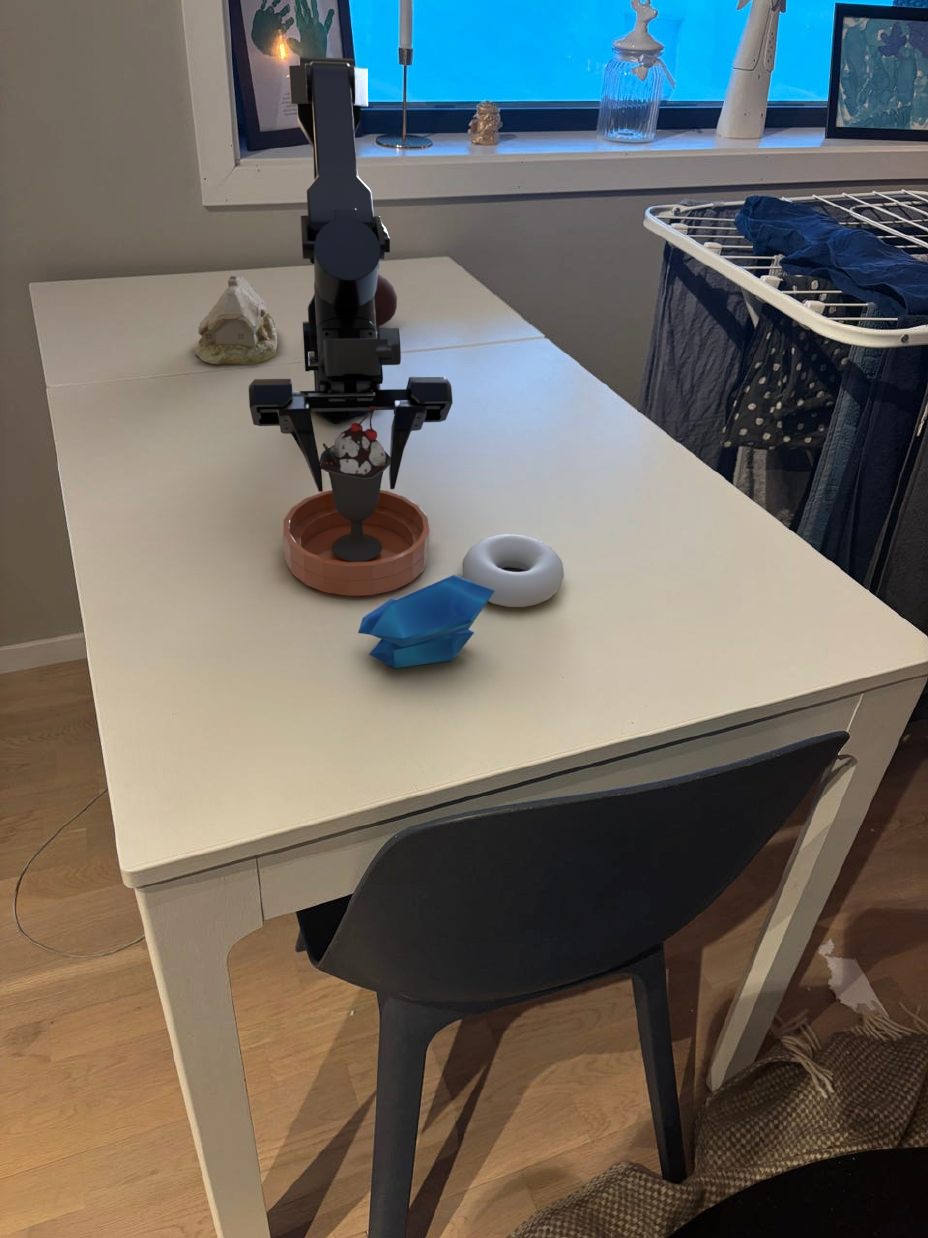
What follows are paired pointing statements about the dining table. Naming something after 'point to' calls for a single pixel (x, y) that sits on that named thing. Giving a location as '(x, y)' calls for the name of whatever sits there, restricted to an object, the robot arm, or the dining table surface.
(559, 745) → the dining table surface
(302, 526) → the bowl
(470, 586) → the crystal
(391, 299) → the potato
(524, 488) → the dining table surface
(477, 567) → the donut
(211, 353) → the ceramic model
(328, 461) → the sundae
